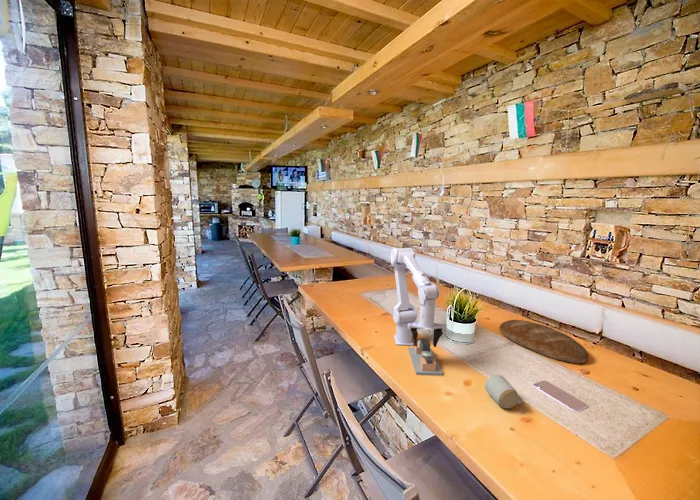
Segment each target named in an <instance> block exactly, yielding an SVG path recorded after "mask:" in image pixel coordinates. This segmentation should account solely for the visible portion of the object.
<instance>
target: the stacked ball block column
mask: <svg viewBox="0 0 700 500" xmlns="http://www.w3.org/2000/svg"><path fill="white" fill-rule="evenodd" d="M417 342H418V344H419V346H420V348H421V350H422V355H423V356H424V358H425V361H426V363H427V364H432V359H431V357H432V352H430V348H431V343H430V341H429V339H428V338H427V337H426V338H425V337H420V338H417Z"/></svg>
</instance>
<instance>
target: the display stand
mask: <svg viewBox="0 0 700 500" xmlns="http://www.w3.org/2000/svg"><path fill="white" fill-rule="evenodd" d="M413 346H414V347H412V346H411V347H409V346H408V348H407V351H408V353H409V356H410V359H411V363H412V366H413V369H414V371H415V375H417V376H419V375H420V376H443V374H444V373H443V370H442V368H441V367H440V364H439V363H438V360H437V358H436V355H435V354H434V351H433V350H432V347H430V352H432V357H431V359H432V364H427V363H426V361H425V358H424V356H423V355H422V350H421V348H420V346H419V344H418V341H417V347H415V345H413Z"/></svg>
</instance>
